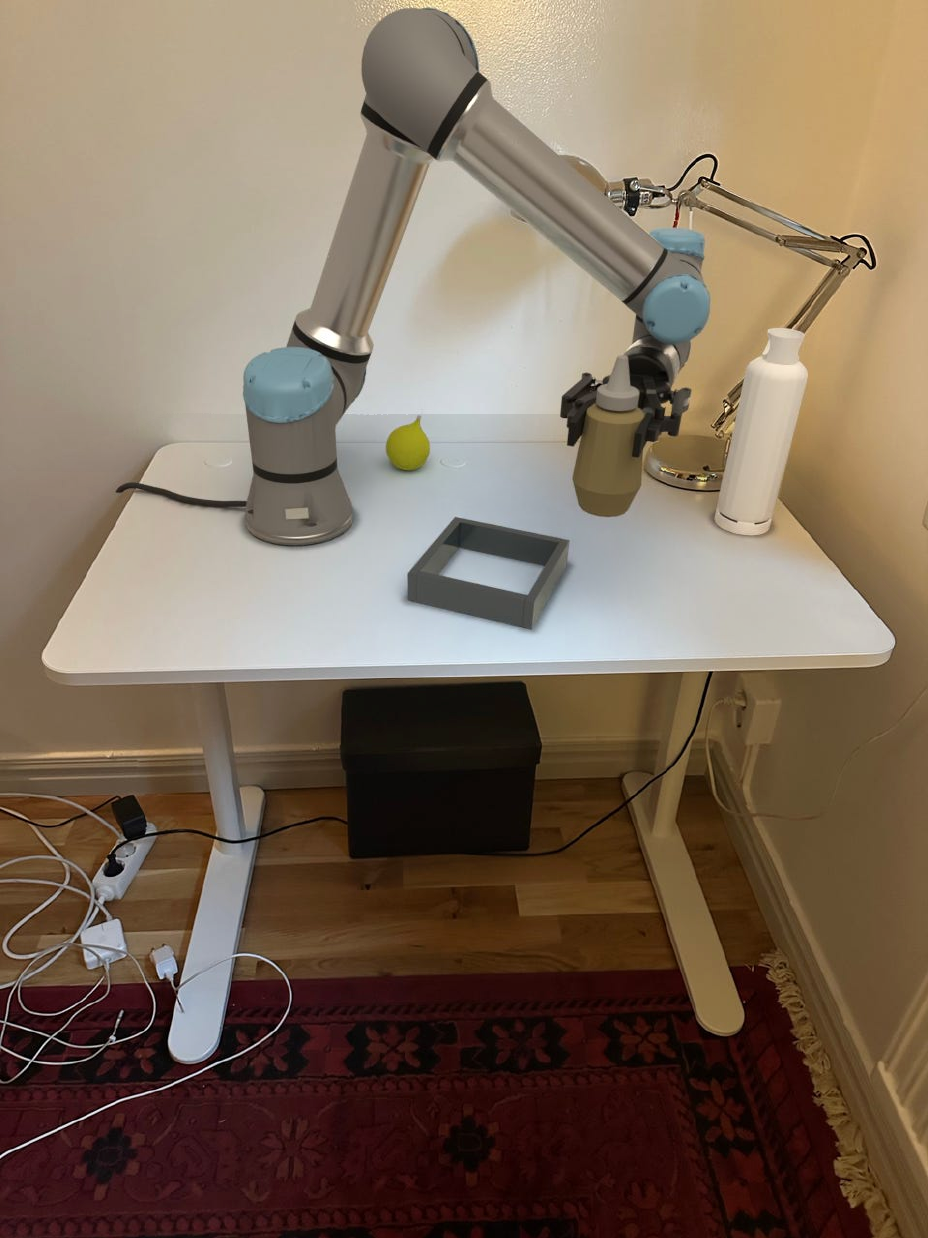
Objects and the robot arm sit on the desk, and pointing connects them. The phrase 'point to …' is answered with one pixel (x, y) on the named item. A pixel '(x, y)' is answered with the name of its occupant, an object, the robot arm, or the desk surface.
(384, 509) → the desk surface
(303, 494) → the robot arm
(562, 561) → the grey open square frame
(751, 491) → the bottle
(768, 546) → the desk surface
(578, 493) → the squeeze bottle
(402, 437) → the yellow teardrop-shaped fruit
